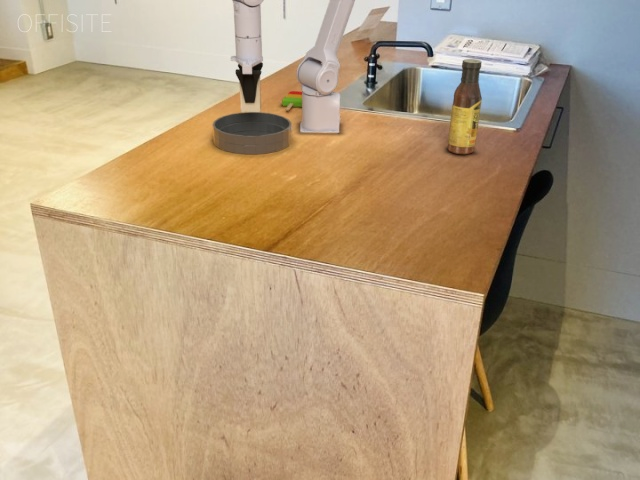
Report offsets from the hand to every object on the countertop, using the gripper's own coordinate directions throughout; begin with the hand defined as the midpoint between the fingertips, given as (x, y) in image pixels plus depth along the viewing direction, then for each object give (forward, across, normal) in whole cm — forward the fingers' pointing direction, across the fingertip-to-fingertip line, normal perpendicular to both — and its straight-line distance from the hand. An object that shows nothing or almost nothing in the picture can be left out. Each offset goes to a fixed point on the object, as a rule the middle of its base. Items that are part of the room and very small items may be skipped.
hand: (250, 99), depth 156 cm
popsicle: (+10, -29, +9) cm, 32 cm away
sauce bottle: (+10, +6, +48) cm, 50 cm away
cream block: (+2, 0, 0) cm, 2 cm away
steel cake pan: (+10, +2, 0) cm, 10 cm away
